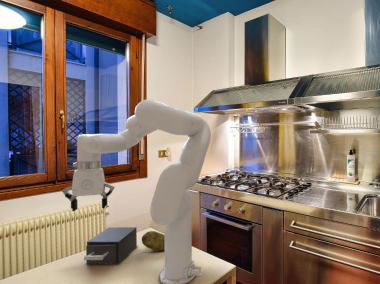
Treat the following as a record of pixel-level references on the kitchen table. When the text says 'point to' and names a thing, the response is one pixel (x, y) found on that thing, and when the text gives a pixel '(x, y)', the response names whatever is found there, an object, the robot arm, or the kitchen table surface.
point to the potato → (153, 240)
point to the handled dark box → (101, 254)
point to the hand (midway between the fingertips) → (89, 208)
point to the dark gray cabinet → (118, 240)
